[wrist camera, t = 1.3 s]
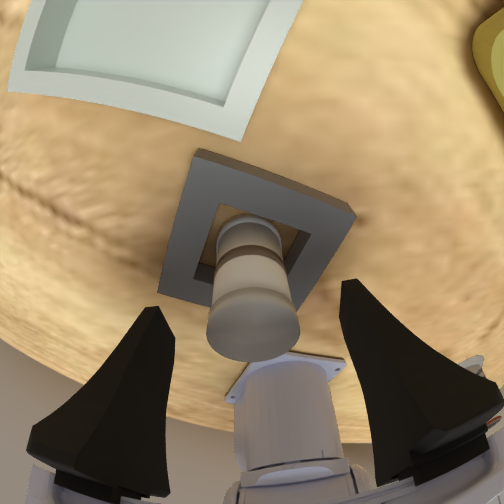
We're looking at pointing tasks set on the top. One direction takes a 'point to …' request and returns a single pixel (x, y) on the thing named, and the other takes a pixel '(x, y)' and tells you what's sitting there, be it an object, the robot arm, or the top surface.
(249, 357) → the cylinder
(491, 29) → the plastic component
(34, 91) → the parts tray
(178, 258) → the gray square frame
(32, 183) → the top surface
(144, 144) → the top surface
